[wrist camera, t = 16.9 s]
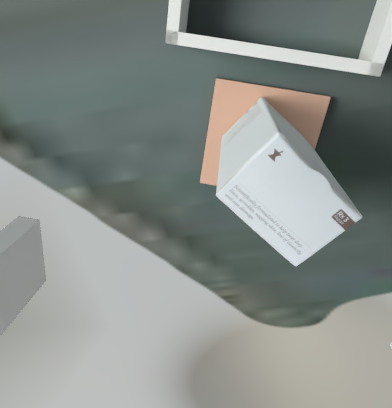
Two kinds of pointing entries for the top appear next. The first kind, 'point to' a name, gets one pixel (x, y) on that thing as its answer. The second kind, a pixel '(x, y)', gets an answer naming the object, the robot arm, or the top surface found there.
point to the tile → (243, 100)
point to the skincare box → (281, 185)
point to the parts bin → (366, 63)
